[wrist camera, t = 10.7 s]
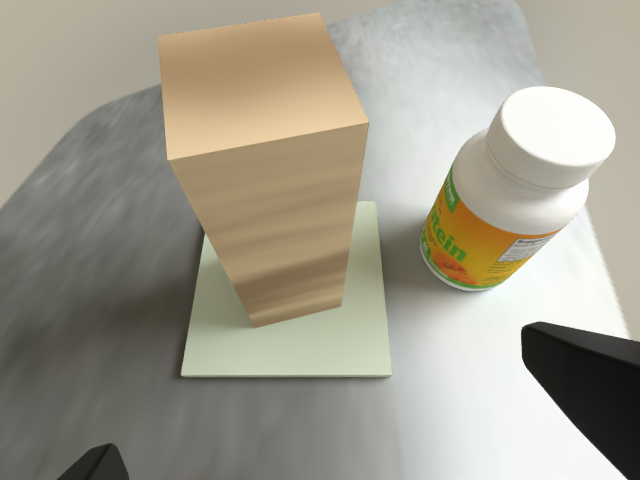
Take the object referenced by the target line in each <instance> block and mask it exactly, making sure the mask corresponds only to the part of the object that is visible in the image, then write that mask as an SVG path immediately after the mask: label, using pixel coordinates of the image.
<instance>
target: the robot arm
mask: <svg viewBox="0 0 640 480" xmlns="http://www.w3.org/2000/svg"><path fill="white" fill-rule="evenodd" d="M521 346H522V359H523V362H524V364H525V366H526V368H527V369H528V370H529V372H530V373H531V374H532V375H533V376H534V378H535V379H536V380H537V381H538V382H539V384H540V385H541V386H542V387H543V388H544V390H545V391H546V392H547V393H548V394H549V396H550V397H551V398H552V399H553V401H554V402H555V403H556V404H557V405H558V407H559V408H560V409H561V410H562V411H563V413H564V414H565V415H566V416H567V417H568V418H569V420H570V421H571V422H572V423H573V424H574V425H575V426H576V427H577V429H578V430H579V431H580V432H581V433H582V434H583V435H584V436H585V437H586V438H587V439H588V440H589V441H590V442H591V443H592V444H593V445H594V446H595V447H596V448H597V449H598V450H599V451H600V452H601V453H602V454H603V455H604V456H605V457H606V458H607V459H608V460H609V461H610V462H611V463H612V464H613V465H614V466H615V467H616V468H617V469H618V470H619V471H620V472H621V473H622V474H623V475H624V476H625V478H626V479H627V480H640V342H638V341H633V340H628V339H623V338H619V337H614V336H609V335H604V334H599V333H594V332H589V331H585V330H580V329H575V328H570V327H565V326H560V325H555V324H551V323H546V322H535V323H531V324H528V325H525V326H524V327H522V330H521ZM57 480H129V475H128V472H127V469H126V467H125V465H124V462H123V460H122V457H121V455H120V453H119V450H118V448H117V446H116V445H115V444H113V443H108V444H105V445H101V446H98V447H94V448H92V449H90V450H89V451H87V452H86V453H85V454H84V455H83V456H82V457H81V458H80V459H79V460H78V461H77V462H75V463H74V464H73V465H72V466H71V467H70V468H69V469H68V470H67V471H66V472H65V473H63V474H62V475H61V476H60V477H59V478H58V479H57Z"/></svg>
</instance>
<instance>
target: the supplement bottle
mask: <svg viewBox="0 0 640 480" xmlns="http://www.w3.org/2000/svg"><path fill="white" fill-rule="evenodd" d="M614 145H615V131H614V128H613V126H612V124H611V122H610V120H609V119H608V117H607V116H606V115H605V114H604V112H603V111H602V110H600V108H598V107H597V106H596V105H595V104H593V103H592V102H590V101H589V100H587V99H586V98H584V97H582V96H580V95H577V94H575V93H573V92H570V91H567V90H563V89H559V88H554V87H530V88H525V89H522V90H519V91H517V92H515V93H513V94H512V95H510V96H509V97H508V98H507V99H506V100H505V101H504V102H503V104H502V105H501V107H500V109H499V110H498V112H497V114H496V115H495V117H494V119H493V121H492V123H491V125H490V127H489V128H487V129H484V130H482V131H480V132H478V133H477V134H475V135H474V136H472V137H471V138H470V139H469V140H468V141H467V142H466V143H465V144H464V145H463V146H462V147H461V149H460V151H459V152H458V154H457V156H456V158H455V160H454V162H453V164H452V166H451V168H450V171H449V173H448V175H447V177H446V179H445V181H444V184H443V186H442V188H441V190H440V192H439V194H438V196H437V198H436V201H435V203H434V205H433V207H432V209H431V211H430V213H429V215H428V217H427V220H426V222H425V224H424V226H423V229H422V231H421V235H420V250H421V254H422V257H423V259H424V261H425V263H426V265H427V266H428V268H429V269H430V270H431V271H432V273H433V274H434V275H435V276H437V277H438V278H439V279H440V280H442V281H443V282H445V283H446V284H448V285H450V286H452V287H455V288H458V289H461V290H466V291H483V290H488V289H491V288H494V287H496V286H498V285H500V284H501V283H503V282H504V281H505V280H506V279H508V278H509V277H510V276H511V275H512V274H513V273H514V272H516V271H517V270H518V269H519V268H520V267H521V266H522V265H523V264H524V263H525V262H526V261H528V260H529V259H530V258H531V257H532V256H533V255H534V254H535V253H536V252H537V251H539V250H540V249H541V248H542V247H543V246H544V245H545V244H546V243H547V242H548V241H549V240H550V239H551V238H553V237H554V236H555V235H556V234H557V233H558V232H559V231H560V230H561V229H562V228H564V227H565V226H566V225H567V224H568V223H569V222H570V221H571V220H572V219H573V218H574V217H575V216H576V215H577V214H578V212H579V211H580V210H581V209H582V207H583V205H584V203H585V201H586V198H587V194H588V178H589V177H590V176H591V175H592V174H593V173H594V171H595V170H596V169H597V168H598V167H599V166H600V165H601V164H602V163H603V161H604V160H605V159H606V158H607V157H608V156H609V155H610V153H611V152H612V150H613V147H614Z"/></svg>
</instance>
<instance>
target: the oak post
mask: <svg viewBox="0 0 640 480" xmlns="http://www.w3.org/2000/svg"><path fill="white" fill-rule="evenodd" d="M158 47H159V58H160V72H161V84H162V97H163V109H164V121H165V134H166V146H167V158H168V162H169V164H170V166H171V168H172V170H173V172H174V173H175V175H176V177H177V179H178V181H179V183H180V185H181V187H182V189H183V191H184V193H185V195H186V197H187V198H188V200H189V202H190V204H191V206H192V208H193V210H194V212H195V214H196V216H197V218H198V220H199V221H200V223H201V225H202V227H203V229H204V231H205V233H206V235H207V237H208V239H209V241H210V243H211V245H212V246H213V248H214V250H215V252H216V254H217V256H218V258H219V260H220V262H221V264H222V266H223V268H224V270H225V271H226V273H227V275H228V277H229V279H230V281H231V283H232V285H233V287H234V289H235V291H236V293H237V295H238V296H239V298H240V300H241V302H242V304H243V306H244V308H245V310H246V312H247V314H248V316H249V318H250V320H251V321H252V323H253V325H254V327H255V328H258V327H262V326H266V325H270V324H274V323H278V322H282V321H286V320H290V319H294V318H298V317H302V316H306V315H310V314H314V313H318V312H322V311H326V310H330V309H334V308H338V307H341V303H342V297H343V290H344V284H345V277H346V271H347V264H348V258H349V251H350V244H351V238H352V231H353V225H354V218H355V212H356V205H357V199H358V192H359V186H360V179H361V172H362V166H363V159H364V153H365V146H366V140H367V133H368V127H369V121H368V119H367V116H366V114H365V112H364V110H363V108H362V105H361V103H360V101H359V99H358V97H357V94H356V92H355V90H354V88H353V85H352V83H351V81H350V79H349V77H348V74H347V72H346V70H345V68H344V66H343V63H342V61H341V59H340V57H339V55H338V52H337V50H336V48H335V46H334V44H333V41H332V39H331V37H330V35H329V33H328V30H327V28H326V26H325V24H324V22H323V19H322V17H321V15H320V13H319V12H318V13H311V14H305V15H298V16H291V17H285V18H278V19H271V20H264V21H257V22H251V23H244V24H237V25H230V26H223V27H217V28H210V29H203V30H196V31H190V32H183V33H176V34H169V35H162V36H158Z"/></svg>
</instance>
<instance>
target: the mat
mask: <svg viewBox="0 0 640 480" xmlns="http://www.w3.org/2000/svg"><path fill="white" fill-rule="evenodd" d="M391 375H392V370H391V360H390V349H389V338H388V327H387V316H386V305H385V294H384V284H383V273H382V262H381V251H380V240H379V229H378V218H377V208H376V202H357V205H356V212H355V218H354V225H353V231H352V238H351V244H350V251H349V258H348V264H347V271H346V277H345V284H344V290H343V297H342V303H341V307H338V308H334V309H330V310H326V311H322V312H318V313H314V314H310V315H306V316H302V317H298V318H294V319H290V320H286V321H282V322H278V323H274V324H270V325H266V326H262V327H258V328H255V327H254V325H253V323H252V321H251V320H250V318H249V316H248V314H247V312H246V310H245V308H244V306H243V304H242V302H241V300H240V298H239V296H238V295H237V293H236V291H235V289H234V287H233V285H232V283H231V281H230V279H229V277H228V275H227V273H226V271H225V270H224V268H223V266H222V264H221V262H220V260H219V258H218V256H217V254H216V252H215V250H214V248H213V246H212V245H211V243H210V241H209V239H208V237H207V235H206V233H205V237H204V242H203V248H202V254H201V260H200V266H199V271H198V277H197V283H196V289H195V295H194V301H193V306H192V312H191V318H190V324H189V330H188V336H187V341H186V347H185V353H184V359H183V365H182V371H181V376H183V377H390V376H391Z"/></svg>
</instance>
